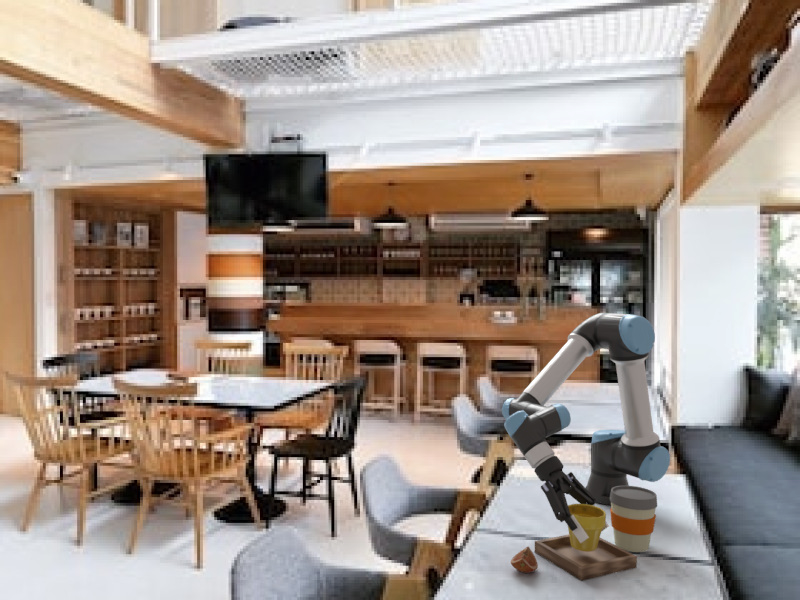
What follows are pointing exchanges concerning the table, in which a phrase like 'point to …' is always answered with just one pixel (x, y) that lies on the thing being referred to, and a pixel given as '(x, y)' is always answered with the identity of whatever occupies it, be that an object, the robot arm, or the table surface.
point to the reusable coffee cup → (632, 517)
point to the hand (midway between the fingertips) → (595, 534)
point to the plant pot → (587, 525)
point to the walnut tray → (585, 557)
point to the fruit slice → (525, 561)
